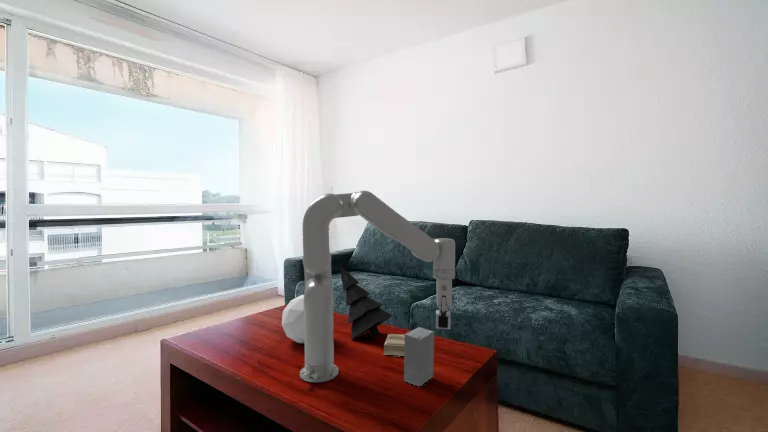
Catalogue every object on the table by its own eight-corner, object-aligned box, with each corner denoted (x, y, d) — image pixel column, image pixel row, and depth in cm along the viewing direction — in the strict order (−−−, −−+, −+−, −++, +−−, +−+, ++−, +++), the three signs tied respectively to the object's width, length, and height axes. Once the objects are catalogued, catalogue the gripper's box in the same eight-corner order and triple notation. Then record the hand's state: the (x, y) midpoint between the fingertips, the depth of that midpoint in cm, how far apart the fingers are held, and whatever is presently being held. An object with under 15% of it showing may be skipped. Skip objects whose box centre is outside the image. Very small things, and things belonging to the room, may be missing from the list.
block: (450, 329, 125) (450, 314, 125) (435, 328, 126) (436, 314, 126) (449, 324, 130) (450, 310, 130) (435, 323, 131) (436, 310, 131)
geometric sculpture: (294, 360, 147) (262, 323, 144) (317, 328, 165) (289, 295, 162) (325, 346, 138) (292, 306, 136) (346, 313, 156) (317, 278, 153)
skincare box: (417, 373, 121) (417, 325, 121) (435, 379, 117) (435, 330, 116) (402, 382, 115) (402, 332, 114) (421, 389, 110) (421, 337, 110)
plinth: (416, 357, 134) (416, 345, 134) (384, 355, 136) (384, 344, 135) (417, 345, 146) (417, 334, 146) (388, 343, 147) (388, 333, 147)
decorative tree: (375, 338, 162) (340, 270, 173) (398, 324, 155) (360, 254, 166) (354, 349, 150) (318, 275, 161) (378, 334, 143) (339, 258, 154)
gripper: (455, 278, 119) (454, 333, 119) (453, 269, 135) (452, 318, 136) (432, 277, 120) (431, 332, 120) (433, 269, 137) (432, 317, 137)
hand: (443, 324), depth 128 cm, fingers closed on block, 5 cm apart
